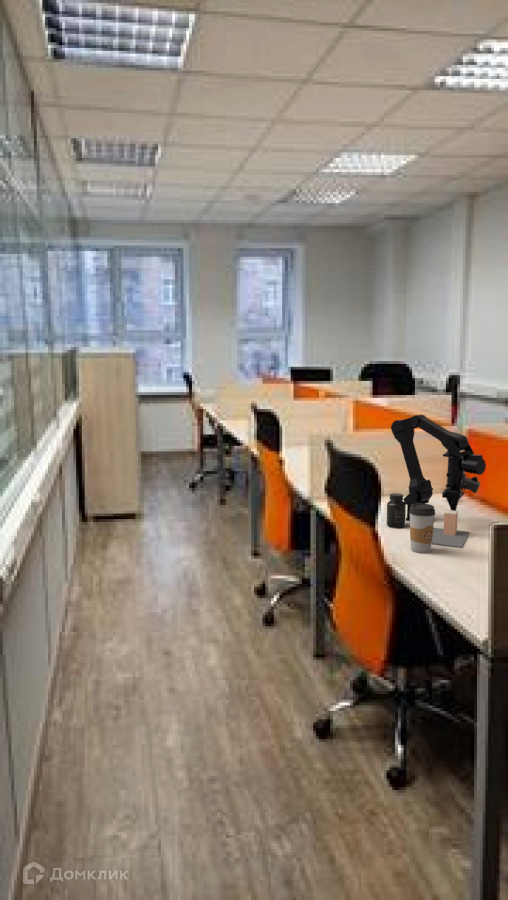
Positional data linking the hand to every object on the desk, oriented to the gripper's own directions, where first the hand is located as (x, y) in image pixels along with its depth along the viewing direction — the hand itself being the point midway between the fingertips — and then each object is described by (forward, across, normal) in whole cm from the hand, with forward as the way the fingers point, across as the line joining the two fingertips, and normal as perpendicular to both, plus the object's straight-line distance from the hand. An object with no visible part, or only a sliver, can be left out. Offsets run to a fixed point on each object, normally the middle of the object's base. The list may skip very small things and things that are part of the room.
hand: (453, 512), depth 245 cm
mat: (+6, -12, +1) cm, 13 cm away
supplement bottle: (+6, -4, +20) cm, 21 cm away
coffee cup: (+6, -29, +6) cm, 31 cm away
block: (+6, -7, 0) cm, 9 cm away
